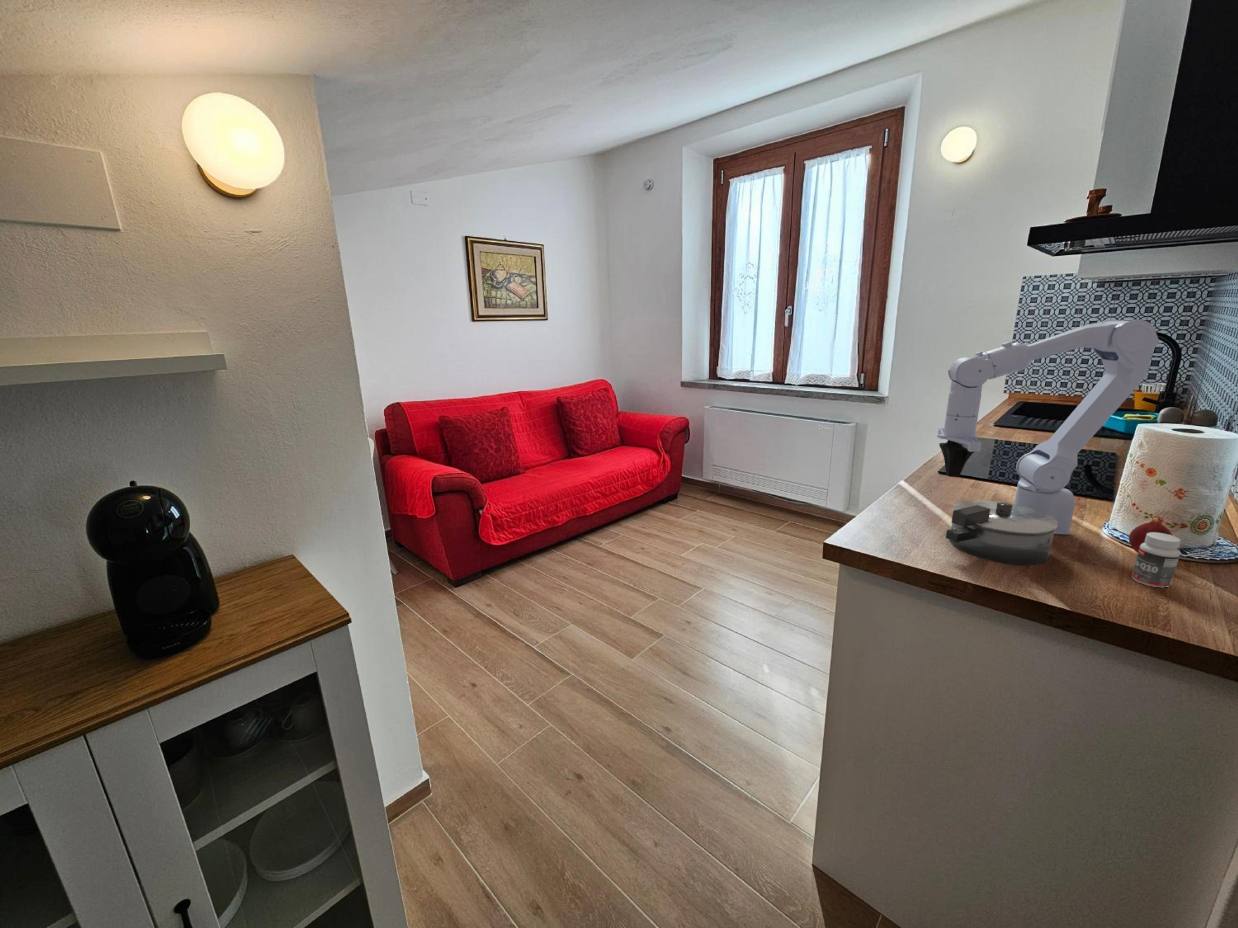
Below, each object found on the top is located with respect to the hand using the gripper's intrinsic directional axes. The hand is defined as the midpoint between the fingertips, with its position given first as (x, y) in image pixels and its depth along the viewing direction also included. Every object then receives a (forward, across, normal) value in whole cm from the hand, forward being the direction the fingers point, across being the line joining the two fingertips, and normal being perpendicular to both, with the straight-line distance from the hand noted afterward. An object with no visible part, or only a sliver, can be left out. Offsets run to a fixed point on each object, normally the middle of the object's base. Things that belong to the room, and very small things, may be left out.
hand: (952, 476), depth 114 cm
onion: (+11, +17, +27) cm, 34 cm away
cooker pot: (+10, +15, +1) cm, 19 cm away
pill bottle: (+11, +27, +21) cm, 36 cm away
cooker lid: (+4, +15, +1) cm, 16 cm away
